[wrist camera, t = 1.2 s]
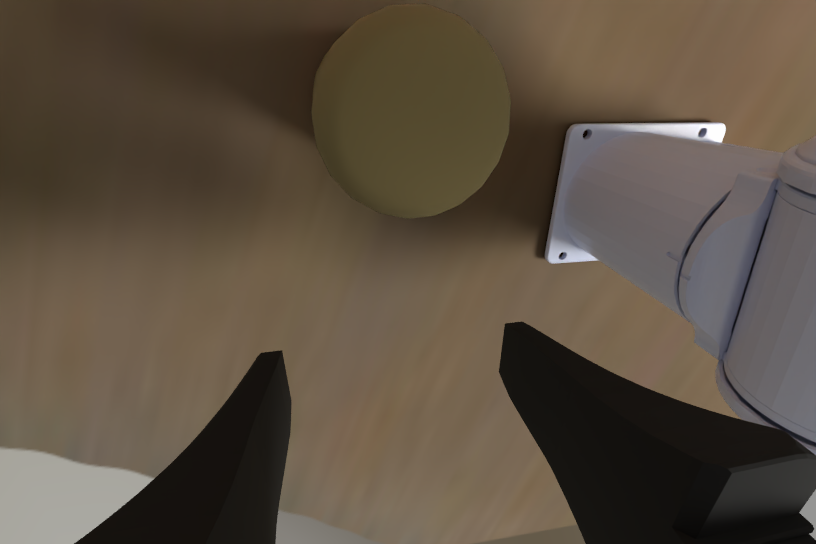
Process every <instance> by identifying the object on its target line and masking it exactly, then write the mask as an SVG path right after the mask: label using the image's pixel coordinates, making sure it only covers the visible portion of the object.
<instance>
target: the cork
mask: <svg viewBox="0 0 816 544" xmlns="http://www.w3.org/2000/svg"><path fill="white" fill-rule="evenodd" d="M312 98H313V103H312V110H311V115H312V121H313V128H314V134H315V141H316V146H317V148H318V150H319V153H320V155H321V157H322V159H323V161H324V163H325V165H326V167H327V169H328V171H329V173H330V175H331V176H332V177H333V178H334V180H335V181H336V182H337V183H338V184H339V185H340V186H341V187H342V188H343V189H344V190H345V191H346V192H347V193H348V194H349V196H350V197H351V198H353V199H355V200H357V201H359V202H360V203H362V204H364V205H366V206H367V207H369V208H371V209H373V210H375V211H376V212H379V213H382V214H387V215H392V216H396V217H401V218H406V219H409V218H418V217H427V216H435V215H437V214H440V213H442V212H444V211H447V210H449V209H451V208H454V207H456V206H458V205H460V204H461V203H463V202H464V201H465V200H466V199H467V198H469V197H470V196H471V195H472V194H474V193H475V192H476V191H477V190H478V189H480V188H481V187H482V186H483V184H484V183H485V181H486V180H487V178H488V177H489V175H490V174H491V173H492V171H493V170H494V168H495V167H496V165H497V164H498V162H499V160H500V157H501V154H502V151H503V148H504V145H505V143H506V140H507V137H508V134H509V123H510V107H511V99H510V95H509V90H508V86H507V81H506V77H505V72H504V68H503V67H502V65H501V63H500V62H499V60H498V58H497V56H496V55H495V53H494V51H493V49H492V48H491V46H490V44H489V43H488V41H487V39H485V38H484V37H483V36H482V35H481V34H480V33H478V32H477V31H476V30H475V29H474V28H473V27H471V26H470V25H469V24H468V23H467V22H466V21H464V20H463V19H462V18H461V17H459V16H458V15H455V14H453V13H450V12H447V11H444V10H441V9H439V8H436V7H433V6H430V5H428V4H400V5H389V6H387V7H385V8H382V9H380V10H378V11H376V12H373V13H371V14H369V15H366V16H364V17H362V18H360V19H358V20H357V21H356V22H355V23H354V24H353V25H352V26H351V27H350V28H349V29H348V30H347V31H346V32H345V33H344V34H343V35H342V36H341V37H340V38H339V39H338V40H336V41H335V42H334V43H333V45H332V47H331V49H330V50H329V51H328V52H327V53H326V54H325V56H324V58H323V60H322V62H321V64H320V66H319V68H318V70H317V72H316V74H315V80H314V87H313V94H312Z"/></svg>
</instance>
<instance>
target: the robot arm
mask: <svg viewBox="0 0 816 544" xmlns="http://www.w3.org/2000/svg"><path fill="white" fill-rule="evenodd" d="M700 129H701V132H700V134H699V135H698V133H699V131H700ZM585 130H587V131H588V134H587V136H586V137H585V138H583V133H584V131H585ZM725 130H726V128H725V125H724V124H723V123H718V122H690V123H592V124H573V125H572V126H570V128H569V129H568V131H567V133H566V139H565V144H564V150H563V155H562V161H561V167H560V172H559V178H558V183H557V189H556V194H555V200H554V205H553V211H552V217H551V222H550V228H549V233H548V239H547V244H546V250H545V259H546V260H547V261H548V262H550V263H553V264H554V263H568V262H582V261H596V260H599V261H601V262H602V263H604V264H605V265H607V266H608V267H609V268H611V269H612V270H614V271H615V272H617V273H618V274H620V275H621V276H623V277H624V278H626V279H627V280H629V281H630V282H631V283H633V284H634V285H636V286H637V287H639V288H640V289H642V290H643V291H645V292H646V293H648V294H649V295H651V296H652V297H653V298H655V299H656V300H658V301H659V302H661V303H662V304H664V305H665V306H667V307H668V308H670V309H671V310H673V311H674V312H675V313H677V314H678V315H680V316H681V317H683V318H684V319H686V320H687V321H689V322H690V323H691V324H692V325H693V326H694V329H695V339H694V342H695V343H696V344H697V345H699V346H700V347H701V348H703V349H704V350H705V351H707V352H708V353H710V354H711V355H712V356H714V357H715V358H716V359H718V360H719V362H718V364H717V368H716V383H717V386H718V389H719V391H720V393H721V395H722V397H723V398H724V400H725V401H726V403H727V404H728V405H729V406H730V408H731V409H732V410H733V411H734V412H735V413H736V414H737V415H738V416H739V417H740V418H741V419H742V420H740V419H736V418H733V417H729V416H726V415H722V414H719V413H716V412H712V411H709V410H706V409H703V408H699V407H696V406H693V405H690V404H687V403H684V402H682V401H679V400H676V399H673V398H671V397H668V396H665V395H663V394H660V393H657V392H655V391H652V390H650V389H647V388H645V387H643V386H640V385H638V384H636V383H634V382H631V381H629V380H627V379H625V378H622V377H620V376H618V375H616V374H614V373H612V372H610V371H608V370H606V369H604V368H602V367H600V366H598V365H597V364H595V363H593V362H591V361H589V360H587V359H585V358H584V357H582V356H580V355H578V354H577V353H575V352H573V351H571V350H570V349H568V348H566V347H565V346H563V345H561V344H560V343H558V342H556V341H555V340H553V339H551V338H550V337H548V336H546V335H545V334H543V333H541V332H540V331H538V330H536V329H535V328H533V327H531V326H529V325H528V324H526V323H524V322H515V323H507V324H505V328H504V336H503V344H502V352H501V360H500V368H499V373H500V375H501V378H502V380H503V383H504V385H505V388H506V390H507V392H508V394H509V397H510V399H511V400H512V402H513V404H514V406H515V407H516V409H517V411H518V412H519V414H520V416H521V418H522V419H523V421H524V423H525V424H526V426H527V427H528V429H529V431H530V432H531V434H532V436H533V437H534V439H535V441H536V442H537V444H538V446H539V447H540V449H541V451H542V452H543V454H544V456H545V457H546V459H547V461H548V463H549V465H550V467H551V468H552V470H553V472H554V474H555V477H556V479H557V481H558V483H559V485H560V487H561V489H562V491H563V493H564V495H565V498H566V500H567V502H568V504H569V506H570V509H571V511H572V513H573V515H574V518H575V520H576V522H577V524H578V526H579V529H580V531H581V533H582V536H583V538H584V541H585V543H586V544H816V540H814V538H813V537H812V536H810V535H809V533H812V532H813V530H814V528H813V525H812V524H811V523H810V522H809V521H808V520H806V519H805V518H804V517H803V516H802V515H801V514H800V513H799V512H800V510H801V509H802V508H803V506H804V505H805V503H806V502H807V501H808V499H809V498H810V496H811V495H812V493H813V492H814V491H815V489H816V135H815V136H814V137H812V138H810V139H808V140H807V141H805V142H803V143H800V144H798V145H795V146H793V147H791V148H789V149H788V150H787V151H785V152H784V153H781V152H775V151H769V150H763V149H757V148H751V147H744V146H738V145H732V144H726V143H721V142H722V140H723V137H724V134H725ZM561 252H563V255H562V256H561V257H559V254H560V253H561ZM290 426H291V396H290V391H289V386H288V380H287V375H286V370H285V364H284V359H283V353H282V351H273V352H265V353H261V354H260V355H259V356H258V357H257V358H256V360H255V361H254V363H253V364H252V366H251V367H250V369H249V370H248V372H247V373H246V375H245V376H244V378H243V379H242V381H241V382H240V383H239V385H238V386H237V388H236V389H235V390H234V392H233V393H232V394H231V396H230V397H229V398H228V400H227V401H226V402H225V404H224V405H223V406H222V407H221V409H220V410H219V411H218V412H217V414H216V415H215V416H214V417H213V418H212V420H211V421H210V422H209V423H208V424H207V426H206V427H205V428H204V429H203V430H202V431H201V433H200V434H199V435H198V436H197V437H196V438H195V439H194V440H193V441H192V443H191V444H190V445H189V446H188V447H187V448H186V449H185V450H184V451H183V452H182V453H181V454H180V455H179V456H178V457H177V458H176V459H175V460H174V461H173V462H172V463H171V464H170V465H169V466H168V467H167V468H166V469H165V470H164V471H162V472H161V473H160V474H159V475H158V476H157V477H156V478H155V479H154V480H153V481H151V482H150V483H149V484H148V485H147V486H146V487H145V488H144V489H143V490H142V491H140V492H139V493H138V494H137V495H136V496H135V497H133V498H132V499H131V500H130V501H129V502H127V503H126V504H125V505H124V506H122V507H121V508H120V509H119V510H118V511H117V512H115V513H114V514H113V515H112V516H110V517H109V518H108V519H106V520H105V521H104V522H102V523H101V524H100V525H99V526H97V527H96V528H95V529H93V530H92V531H91V532H89V533H88V534H87V535H85V536H84V537H83V538H81V539H80V540H79V541H77V542H76V543H74V544H275V539H276V524H277V515H278V507H279V501H280V494H281V488H282V482H283V476H284V469H285V463H286V457H287V450H288V444H289V437H290Z"/></svg>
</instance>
